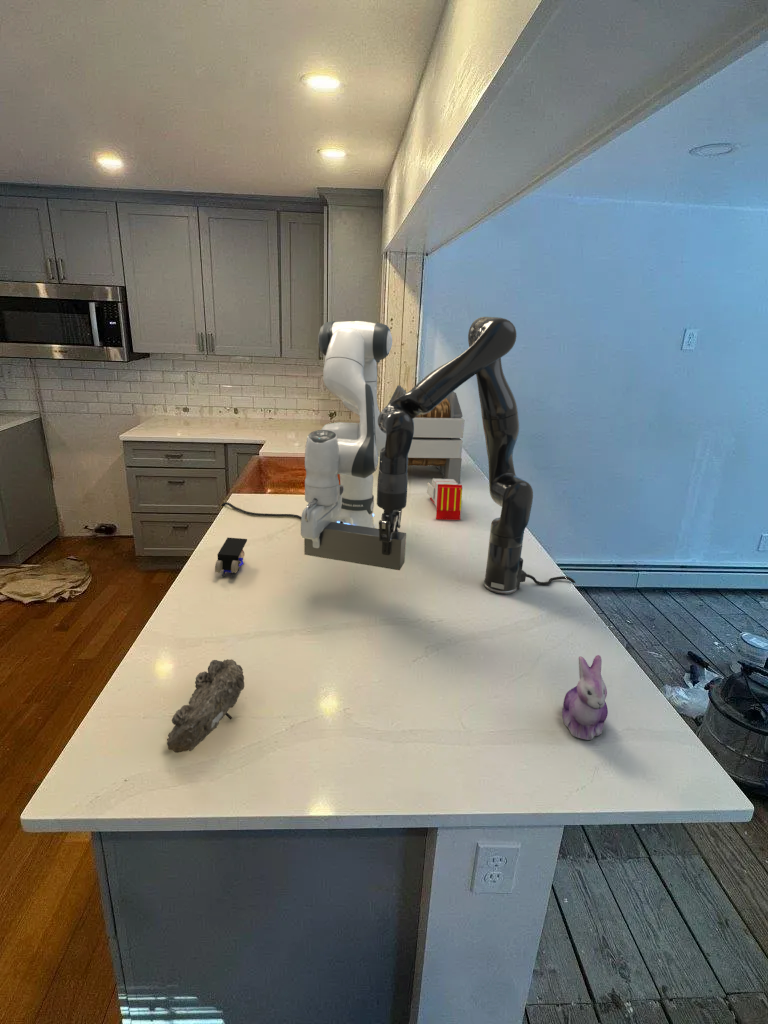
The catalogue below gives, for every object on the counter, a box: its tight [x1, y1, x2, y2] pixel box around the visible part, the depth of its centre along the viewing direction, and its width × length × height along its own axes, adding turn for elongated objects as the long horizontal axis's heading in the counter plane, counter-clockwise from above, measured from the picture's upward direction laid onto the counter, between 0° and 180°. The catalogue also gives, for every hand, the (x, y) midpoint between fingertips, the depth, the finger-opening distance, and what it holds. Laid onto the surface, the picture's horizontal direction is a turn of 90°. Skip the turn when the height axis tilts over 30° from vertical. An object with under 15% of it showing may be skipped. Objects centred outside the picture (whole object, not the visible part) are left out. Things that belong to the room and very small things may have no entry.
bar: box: [303, 522, 407, 571], centre depth 150 cm, size 26×5×8 cm, turn 74°
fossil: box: [166, 658, 245, 754], centre depth 106 cm, size 22×10×15 cm
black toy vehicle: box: [214, 537, 248, 578], centre depth 166 cm, size 7×8×15 cm
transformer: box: [387, 384, 465, 484], centre depth 268 cm, size 34×33×41 cm
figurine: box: [561, 654, 609, 741], centre depth 108 cm, size 9×10×15 cm
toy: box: [426, 478, 463, 521], centre depth 226 cm, size 12×13×30 cm
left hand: (321, 542), depth 153 cm, fingers closed on bar, 5 cm apart
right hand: (389, 549), depth 148 cm, fingers closed on bar, 5 cm apart
